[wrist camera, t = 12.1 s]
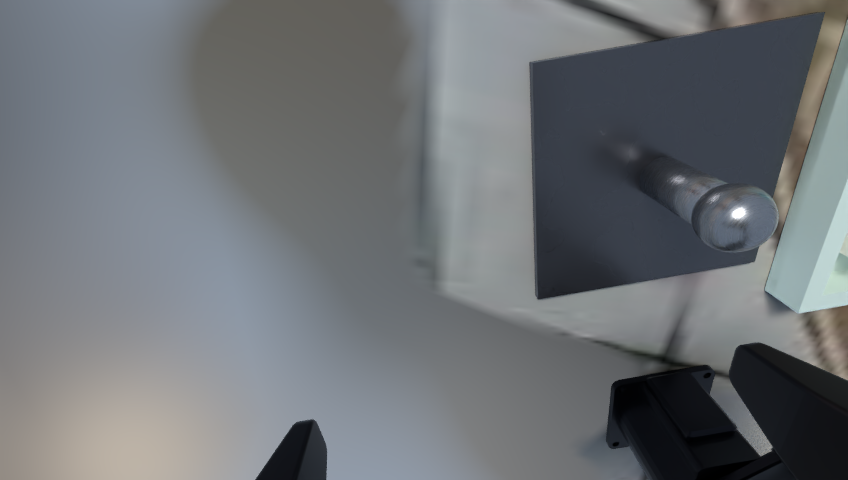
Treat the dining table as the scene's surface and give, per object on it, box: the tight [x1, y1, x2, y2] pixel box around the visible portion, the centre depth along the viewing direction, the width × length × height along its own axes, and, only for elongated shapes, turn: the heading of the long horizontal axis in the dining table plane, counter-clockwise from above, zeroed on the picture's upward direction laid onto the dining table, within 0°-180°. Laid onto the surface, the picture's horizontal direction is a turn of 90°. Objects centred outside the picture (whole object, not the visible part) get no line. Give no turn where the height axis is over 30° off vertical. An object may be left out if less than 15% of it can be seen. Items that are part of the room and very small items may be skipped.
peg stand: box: [530, 12, 825, 299], centre depth 17 cm, size 12×12×6 cm
